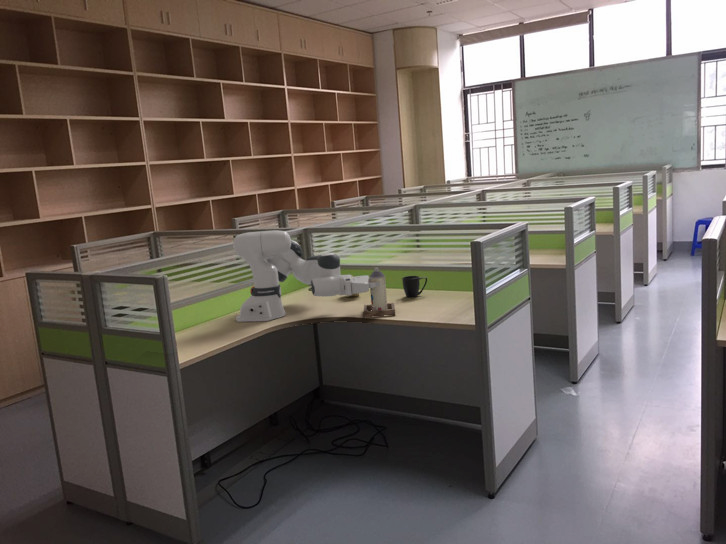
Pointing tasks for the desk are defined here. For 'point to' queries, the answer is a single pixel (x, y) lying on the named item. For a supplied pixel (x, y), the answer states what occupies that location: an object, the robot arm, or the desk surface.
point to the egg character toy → (353, 294)
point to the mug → (412, 286)
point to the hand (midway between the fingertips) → (379, 282)
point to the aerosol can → (378, 291)
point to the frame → (379, 311)
